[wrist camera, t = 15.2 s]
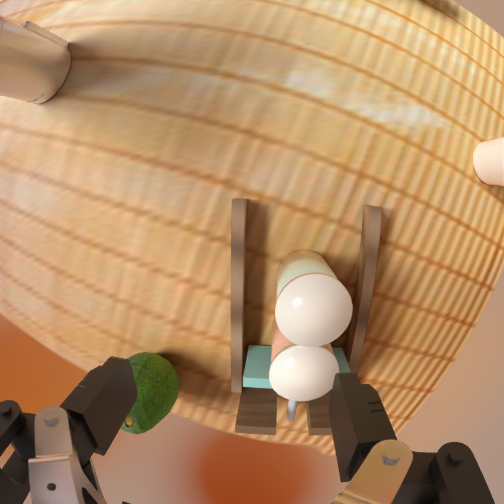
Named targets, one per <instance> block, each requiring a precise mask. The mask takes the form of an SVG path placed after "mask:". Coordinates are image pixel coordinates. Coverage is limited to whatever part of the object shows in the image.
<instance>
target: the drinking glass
mask: <svg viewBox="0 0 504 504" xmlns="http://www.w3.org/2000/svg"><path fill="white" fill-rule="evenodd" d="M473 166H474V169H475V172H476V174H477V176H478V177H479V179H480V180H481V181H483V182H484V183H486V184H489V185H499V186H504V137H500V138H497V139H493V140H490V141H484V142H481V143H479V144H478V145H477V146H476V148H475V150H474V153H473Z"/></svg>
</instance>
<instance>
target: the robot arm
mask: <svg viewBox="0 0 504 504" xmlns="http://www.w3.org/2000/svg"><path fill="white" fill-rule="evenodd" d="M68 43H69V42H67V41H65V40H64V39H62V38H60V37H58V36H56V35H55V34H53V33H51V32H49V31H47V30H45V29H44V28H42V27H40V26H38V25H36V24H34V23H32V22H30V21H26V22H24V23H23V24H19V23H17V22H15V21H12V20H10V19H8V18H6V17H3V16H1V15H0V95H1V96H6V97H10V98H14V99H19V100H23V101H26V102H31V103H36V104H40V103H43V102H45V101H47V100H49V99H50V98H51V97H52V96H53V95H54V94H55V93H56V92H57V91H58V90H59V88H60V87H61V86H62V84H63V82H64V81H65V79H66V77H67V75H68V72H69V69H70V64H71V54H70V51H69V50H68ZM136 399H137V386H136V382H135V379H134V375H133V371H132V367H131V363H130V361H129V360H128V359H124V358H118V357H113V356H111V357H109V358H108V360H107V361H106V362H105V363H104V364H103V365H102V366H98V367H96V368H95V369H93V370H91V371H90V372H89V373H88V374H87V375H86V376H85V377H84V380H82V381H81V382H80V383H79V384H78V386H77V387H76V388H75V389H74V390H73V391H72V393H71V394H70V395H69V396H68V397H67V398H66V399H65V401H64V402H63V403H62V404H61V405H60V406H59V407H57V406H50V407H46V408H43V409H42V410H40V411H39V412H38V414H31V413H23V412H22V410H21V408H20V406H19V405H18V403H16V402H15V401H11V400H6V401H2V402H0V456H1V455H2V454H3V452H4V451H5V450H6V448H7V447H8V446H9V444H11V445H12V447H13V448H14V449H15V451H14V452H13V454H12V455H11V457H10V458H9V460H8V461H7V462H6V464H5V465H4V467H3V468H2V470H1V468H0V504H23V502H24V500H25V499H26V497H27V495H28V493H29V492H30V490H31V498H32V504H107V502H106V500H105V499H104V496H103V494H102V491H101V488H100V485H99V481H98V478H97V474H96V471H95V467H94V464H93V461H92V458H91V456H92V454H93V453H97V454H100V455H103V456H104V455H105V454H106V452H107V450H108V448H109V447H110V445H111V443H112V441H113V440H114V438H115V436H116V434H117V433H118V431H119V429H120V427H121V426H122V424H123V422H124V421H125V419H126V417H127V415H128V414H129V412H130V410H131V409H132V407H133V405H134V403H135V402H136ZM329 419H330V424H331V429H332V434H333V440H334V445H335V451H336V456H337V462H338V468H339V473H340V480H341V482H348V481H350V482H349V484H348V485H347V487H346V488H345V489H344V491H343V492H342V493H340V494H339V495H338V496H337V497H336V498H335V499H334V501H333V502H332V503H331V504H495V503H494V500H493V498H492V495H491V493H490V490H489V488H488V486H487V483H486V481H485V479H484V476H483V474H482V472H481V470H480V468H479V466H478V463H477V461H476V459H475V457H474V455H473V453H472V451H471V450H470V448H469V447H468V446H466V445H465V444H463V443H459V442H450V443H446V444H444V445H443V446H442V447H441V448H440V449H439V450H438V452H437V453H425V452H413V451H412V450H411V449H410V447H409V446H408V445H406V444H405V443H403V442H401V441H398V440H397V438H396V435H395V433H394V430H393V428H392V426H391V423H390V421H389V418H388V416H387V413H386V411H385V409H384V406H383V404H382V403H381V399H380V397H379V394H378V392H377V391H376V390H375V389H374V388H373V387H372V386H371V385H369V384H361V383H360V381H359V378H358V375H357V373H356V372H346V373H336V374H335V377H334V382H333V387H332V392H331V397H330V402H329ZM122 504H129V503H127V502H122Z"/></svg>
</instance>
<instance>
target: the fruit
mask: <svg viewBox="0 0 504 504" xmlns="http://www.w3.org/2000/svg"><path fill="white" fill-rule="evenodd" d="M127 359H128V360H129V361H130V363H131V367H132V371H133V375H134V379H135V382H136V386H137V399H136V402H135V403H134V405H133V407H132V409H131V410H130V412H129V414H128V415H127V417H126V419H125V421H124V422H123V424H122V426H121V427H120V428H121V429H122V430H124V431H127V432H130V433H134V434H139V433H144V432H146V431H148V430H150V429H152V428H153V427H154V426H155V425H156V424H157V423H159V421H161V420H162V419H163V418H164V417H165V416H166V415H167V414H168V413H169V412H170V410H171V409H172V407H173V405H174V403H175V401H176V399H177V396H178V390H179V379H178V375H177V372H176V370H175V368H174V366H173V365H172V364H171V363H170V362H169V361H168V360H167V359H165V358H164V357H162V356H160V355H158V354H153V353H147V352H144V353H138V354H135V355H133V356H131V357H129V358H127Z"/></svg>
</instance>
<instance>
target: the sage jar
mask: <svg viewBox="0 0 504 504" xmlns="http://www.w3.org/2000/svg"><path fill="white" fill-rule="evenodd" d="M352 310H353V308H352V300H351V297H350V295H349V293H348V291H347V290H346V288H345V287H344V286H343V284H342V283H341V282H340V281H339V280H338V279H337V277H336V276H335V274H334V273H333V271H332V270H331V268H330V267H329V266H328V264H327V263H326V261H325V260H324V259H323V257H321V256H320V255H319V254H317V253H316V252H313V251H310V250H298V251H294V252H292V253H290V254H289V255H287V256H286V257H285V258H284V259H283V260H282V261H281V263H280V265H279V267H278V270H277V301H276V307H275V317H276V322H277V325H278V328H279V330H280V331H281V333H282V334H283V335H284V336H285V337H286V338H287V339H288V340H290V341H291V342H293V343H295V344H297V345H301V346H305V347H317V346H322V345H325V344H328V343H330V342H332V341H334V340H335V339H337V338H338V337H339V336H340V335H341V334H342V333H343V332H344V331H345V330H346V328H347V327H348V325H349V323H350V320H351V317H352Z"/></svg>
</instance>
